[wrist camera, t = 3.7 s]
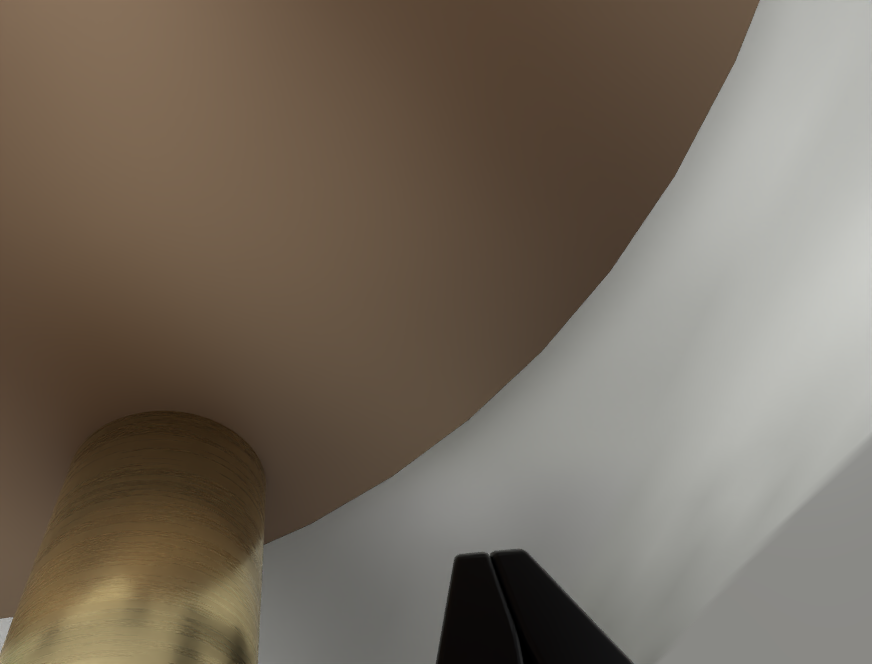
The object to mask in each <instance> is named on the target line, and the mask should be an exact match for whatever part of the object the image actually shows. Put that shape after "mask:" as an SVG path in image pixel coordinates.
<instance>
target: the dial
mask: <svg viewBox="0 0 872 664" xmlns="http://www.w3.org/2000/svg"><path fill="white" fill-rule="evenodd" d="M759 1H760V0H0V619H1V618H8V617H14V618H13V620H12V623H11V626H10V629H9V631H8V634H7V637H6V639H5V642H4V645H3V647H2V650H1V653H0V664H258V648H259V627H260V606H261V585H262V564H263V545H265V544H267V543H269V542H271V541H274V540H276V539H278V538H280V537H282V536H285V535H287V534H289V533H291V532H294V531H296V530H298V529H300V528H303V527H305V526H307V525H309V524H311V523H313V522H315V521H317V520H318V519H320V518H322V517H323V516H325V515H327V514H329V513H330V512H332V511H334V510H335V509H337V508H339V507H341V506H342V505H344V504H346V503H347V502H349V501H351V500H353V499H354V498H356V497H358V496H359V495H361V494H363V493H365V492H366V491H368V490H370V489H371V488H373V487H375V486H377V485H378V484H380V483H382V482H383V481H385V480H387V479H389V478H390V477H392V476H393V475H395V474H396V473H397V472H399V471H400V470H401V469H403V468H404V467H406V466H407V465H408V464H410V463H411V462H412V461H414V460H415V459H416V458H418V457H419V456H420V455H422V454H423V453H424V452H426V451H427V450H428V449H430V448H431V447H432V446H434V445H435V444H437V443H438V442H439V441H441V440H442V439H443V438H445V437H446V436H447V435H449V434H450V433H451V432H453V431H454V430H455V429H457V428H458V427H459V426H461V425H462V424H463V423H465V422H466V421H467V420H469V419H470V418H471V417H472V416H473V415H474V414H475V413H476V412H477V411H478V410H480V409H481V408H482V407H483V406H484V405H485V404H486V403H487V402H488V401H489V400H490V399H491V398H492V397H493V396H495V395H496V394H497V393H498V392H499V391H500V390H501V389H502V388H503V387H504V386H505V385H506V384H507V383H508V382H510V381H511V380H512V379H513V378H514V377H515V376H516V375H517V374H518V373H519V372H520V371H521V370H522V369H523V368H525V367H526V366H527V365H528V364H529V363H530V362H531V361H532V360H533V359H534V358H535V357H536V356H537V355H538V354H540V353H541V352H542V350H543V349H544V348H545V347H546V346H547V345H548V343H549V342H550V341H551V340H552V339H553V338H554V336H555V335H556V334H557V333H558V332H559V331H560V329H561V328H562V327H563V326H564V325H565V324H566V322H567V321H568V320H569V319H570V318H571V316H572V315H573V314H574V313H575V312H576V311H577V309H578V308H579V307H580V306H581V305H582V304H583V302H584V301H585V300H586V299H587V298H588V297H589V295H590V294H591V293H592V292H593V291H594V290H595V288H596V287H597V286H598V285H599V284H600V283H601V281H602V280H603V279H604V278H605V277H606V275H607V274H608V273H609V272H610V271H611V269H612V268H613V266H614V265H615V263H616V262H617V260H618V259H619V257H620V256H621V254H622V253H623V252H624V250H625V249H626V247H627V246H628V244H629V243H630V241H631V240H632V238H633V237H634V235H635V234H636V232H637V231H638V229H639V228H640V226H641V225H642V223H643V222H644V220H645V219H646V218H647V216H648V215H649V213H650V212H651V210H652V209H653V207H654V206H655V204H656V203H657V201H658V200H659V198H660V197H661V195H662V194H663V192H664V191H665V189H666V188H667V187H668V185H669V184H670V182H671V181H672V179H673V178H674V176H675V175H676V173H677V171H678V169H679V167H680V165H681V163H682V161H683V159H684V157H685V156H686V154H687V152H688V150H689V148H690V146H691V144H692V142H693V140H694V139H695V137H696V135H697V133H698V131H699V129H700V127H701V125H702V123H703V121H704V120H705V118H706V116H707V114H708V112H709V110H710V108H711V106H712V104H713V103H714V101H715V99H716V97H717V95H718V93H719V91H720V89H721V87H722V86H723V84H724V82H725V80H726V78H727V76H728V74H729V72H730V70H731V68H732V67H733V65H734V63H735V61H736V58H737V56H738V53H739V51H740V48H741V46H742V43H743V41H744V38H745V36H746V33H747V31H748V28H749V26H750V23H751V21H752V18H753V16H754V13H755V11H756V8H757V6H758V3H759Z"/></svg>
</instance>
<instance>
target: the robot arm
mask: <svg viewBox="0 0 872 664" xmlns="http://www.w3.org/2000/svg"><path fill="white" fill-rule="evenodd" d="M436 664H634V663H633V662H632V661H631V660H630V659H629V658H628V657H627V656H626V655H625V654H624V653H623V652H622V651H621V650H620V649H619V648H618V647H617V646H616V645H615V644H614V642H613V641H612V640H611V639H610V638H609V637H608V636H607V635H606V634H605V633H604V632H603V631H602V630H601V629H600V628H599V627H598V626H597V625H596V624H595V623H594V622H593V620H592V619H591V618H590V617H589V616H588V615H587V614H586V613H585V612H584V611H583V610H582V609H581V608H580V607H579V606H578V605H577V604H576V603H575V602H574V601H573V600H572V598H571V597H570V596H569V595H568V594H567V593H566V592H565V591H564V590H563V589H562V588H561V587H560V586H559V585H558V584H557V583H556V582H555V581H554V580H553V579H552V578H551V577H550V575H549V574H548V573H547V572H546V571H545V570H544V569H543V568H542V567H541V566H540V565H539V564H538V563H537V562H536V561H535V560H534V559H533V558H532V557H531V556H530V555H529V554H528V553H527V552H526V551H525V550H522V549H510V550H499V551H494V552H492V553H491V554H490V556H489V555H488V554H487V553H486V552H478V553H467V554H459V555H457V556H456V557H455V559H454V563H453V568H452V574H451V580H450V585H449V591H448V597H447V603H446V608H445V614H444V620H443V626H442V631H441V637H440V643H439V648H438V654H437V660H436Z"/></svg>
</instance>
